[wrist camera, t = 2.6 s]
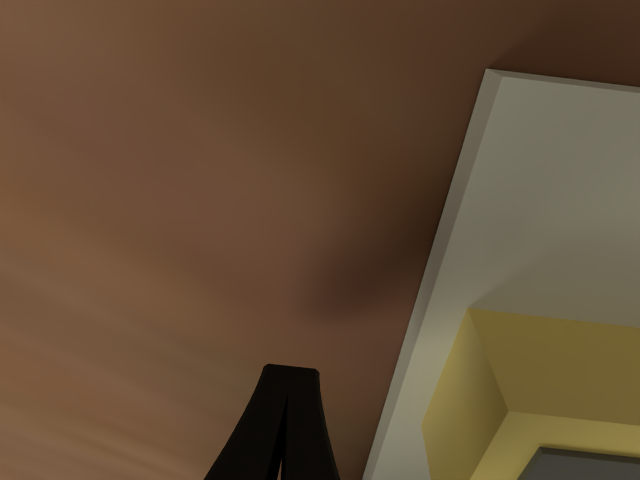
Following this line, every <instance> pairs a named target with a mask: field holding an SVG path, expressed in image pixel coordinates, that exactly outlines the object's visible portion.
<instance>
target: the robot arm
mask: <svg viewBox="0 0 640 480" xmlns="http://www.w3.org/2000/svg"><path fill="white" fill-rule="evenodd" d="M281 459H282V464H281V480H340V477H339V474H338V470H337V467H336V463H335V460H334V456H333V452H332V448H331V444H330V440H329V436H328V431H327V427H326V422H325V417H324V411H323V406H322V399H321V392H320V381H319V372H318V371H317V370H316V369H311V368H302V367H293V366H284V365H275V364H267V365H265V366H264V368H263V371H262V374H261V376H260V379H259V381H258V384H257V386H256V388H255V390H254V393H253V395H252V397H251V399H250V401H249V403H248V405H247V407H246V409H245V411H244V413H243V415H242V416H241V418H240V420H239V422H238V424H237V425H236V427H235V429H234V431H233V433H232V434H231V436H230V438H229V440H228V441H227V443H226V445H225V446H224V448H223V450H222V451H221V453H220V455H219V456H218V458H217V459H216V461H215V462H214V464H213V466H212V467H211V469H210V470H209V472H208V473H207V475H206V477H205V478H204V480H277V478H278V473H279V468H280V463H281Z"/></svg>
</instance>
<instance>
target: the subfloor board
mask: <svg viewBox="0 0 640 480" xmlns="http://www.w3.org/2000/svg"><path fill="white" fill-rule="evenodd" d="M467 308H473V309H481V310H490V311H499V312H507V313H516V314H525V315H533V316H542V317H551V318H560V319H568V320H577V321H586V322H594V323H603V324H612V325H620V326H629V327H638V328H640V87H633V86H625V85H617V84H609V83H601V82H593V81H584V80H576V79H568V78H560V77H552V76H544V75H536V74H528V73H519V72H511V71H503V70H495V69H487V68H486V70H485V73H484V76H483V80H482V83H481V86H480V90H479V93H478V96H477V100H476V103H475V106H474V110H473V113H472V116H471V119H470V123H469V126H468V129H467V133H466V136H465V139H464V143H463V146H462V149H461V153H460V156H459V159H458V163H457V166H456V169H455V173H454V176H453V179H452V182H451V186H450V189H449V192H448V196H447V199H446V202H445V206H444V209H443V212H442V216H441V219H440V222H439V226H438V229H437V232H436V236H435V239H434V242H433V245H432V249H431V252H430V255H429V259H428V262H427V265H426V269H425V272H424V275H423V279H422V282H421V285H420V289H419V292H418V295H417V299H416V302H415V305H414V308H413V312H412V315H411V318H410V322H409V325H408V328H407V332H406V335H405V338H404V342H403V345H402V348H401V352H400V355H399V358H398V362H397V365H396V368H395V371H394V375H393V378H392V381H391V385H390V388H389V391H388V395H387V398H386V401H385V405H384V408H383V411H382V415H381V418H380V421H379V425H378V428H377V431H376V434H375V438H374V441H373V444H372V448H371V451H370V454H369V458H368V461H367V464H366V468H365V471H364V474H363V478H362V480H431V477H430V472H429V467H428V461H427V456H426V450H425V445H424V439H423V434H422V428H421V424H422V421H423V419H424V416H425V413H426V411H427V408H428V406H429V403H430V401H431V398H432V396H433V393H434V391H435V388H436V386H437V383H438V381H439V378H440V375H441V373H442V370H443V368H444V365H445V363H446V360H447V358H448V355H449V353H450V350H451V348H452V345H453V342H454V340H455V337H456V335H457V332H458V330H459V327H460V325H461V322H462V320H463V317H464V315H465V312H466V309H467Z"/></svg>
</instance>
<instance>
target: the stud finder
mask: <svg viewBox="0 0 640 480" xmlns="http://www.w3.org/2000/svg"><path fill="white" fill-rule="evenodd" d="M421 428H422V434H423V439H424V445H425V450H426V456H427V461H428V467H429V472H430V477H431V480H640V328H638V327H629V326H620V325H612V324H603V323H594V322H586V321H577V320H568V319H560V318H551V317H542V316H533V315H525V314H516V313H507V312H499V311H490V310H481V309H473V308H467V309H466V312H465V315H464V317H463V320H462V322H461V325H460V327H459V330H458V332H457V335H456V337H455V340H454V342H453V345H452V348H451V350H450V353H449V355H448V358H447V360H446V363H445V365H444V368H443V370H442V373H441V375H440V378H439V381H438V383H437V386H436V388H435V391H434V393H433V396H432V398H431V401H430V403H429V406H428V408H427V411H426V413H425V416H424V419H423V421H422V424H421Z"/></svg>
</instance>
